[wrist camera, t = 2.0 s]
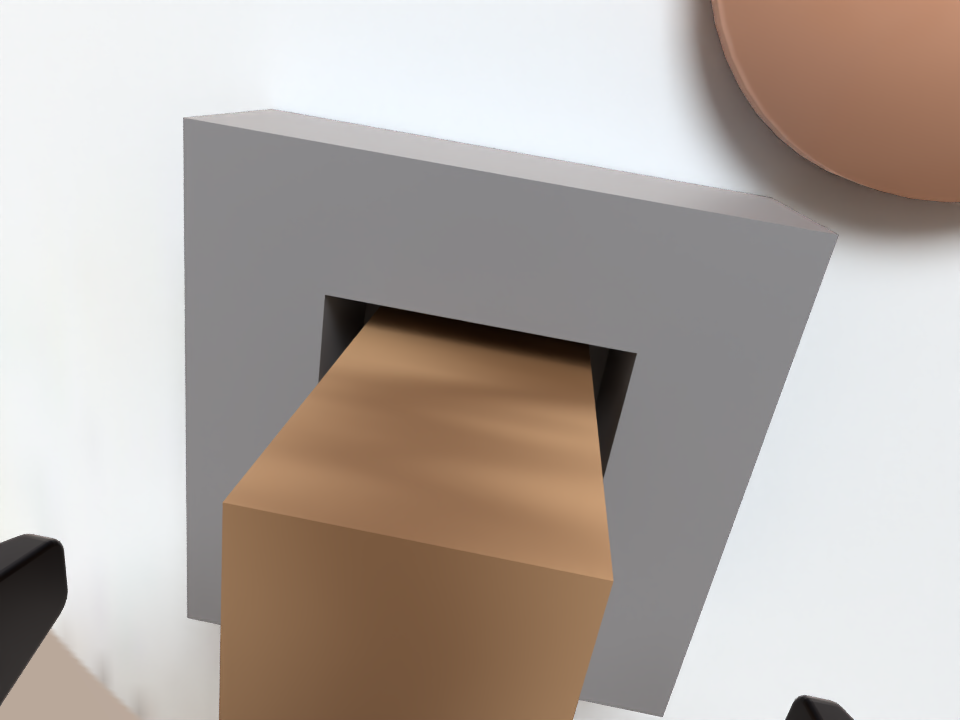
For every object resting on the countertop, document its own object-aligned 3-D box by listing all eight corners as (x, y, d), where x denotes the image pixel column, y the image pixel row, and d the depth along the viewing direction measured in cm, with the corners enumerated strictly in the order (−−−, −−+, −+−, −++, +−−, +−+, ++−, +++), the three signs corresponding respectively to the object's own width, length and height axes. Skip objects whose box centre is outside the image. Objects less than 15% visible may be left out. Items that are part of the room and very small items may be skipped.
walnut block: (586, 321, 14) (613, 581, 7) (548, 484, 16) (536, 840, 8) (396, 286, 14) (223, 502, 7) (377, 451, 16) (217, 771, 9)
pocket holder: (771, 198, 13) (838, 235, 10) (643, 598, 17) (662, 717, 14) (271, 109, 14) (183, 117, 11) (255, 519, 18) (187, 618, 14)
